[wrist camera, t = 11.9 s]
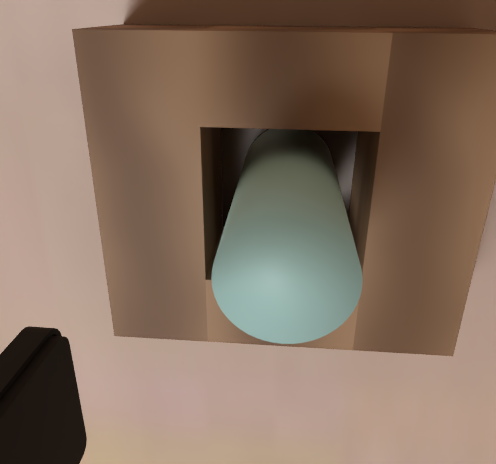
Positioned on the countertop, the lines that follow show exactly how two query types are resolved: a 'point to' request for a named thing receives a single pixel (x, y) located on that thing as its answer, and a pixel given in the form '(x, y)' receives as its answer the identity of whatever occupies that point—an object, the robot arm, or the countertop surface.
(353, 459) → the countertop surface
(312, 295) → the peg
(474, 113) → the socket block
